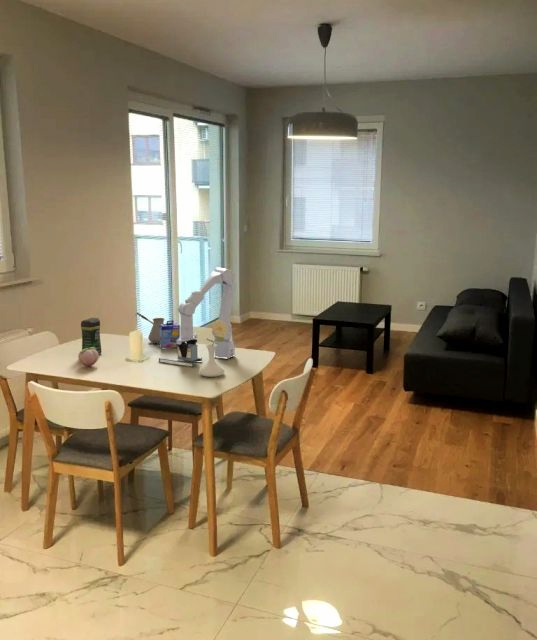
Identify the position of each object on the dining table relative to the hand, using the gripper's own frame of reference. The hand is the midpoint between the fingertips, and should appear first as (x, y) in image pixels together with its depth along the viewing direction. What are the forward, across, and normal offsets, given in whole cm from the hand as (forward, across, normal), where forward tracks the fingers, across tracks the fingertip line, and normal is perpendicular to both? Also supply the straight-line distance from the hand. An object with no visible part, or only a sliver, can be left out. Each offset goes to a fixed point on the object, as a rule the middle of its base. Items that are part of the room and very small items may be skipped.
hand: (187, 355), depth 292 cm
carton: (+2, 0, 0) cm, 2 cm away
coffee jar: (+4, -10, +50) cm, 51 cm away
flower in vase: (+4, -11, -21) cm, 24 cm away
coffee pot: (+4, +27, +41) cm, 49 cm away
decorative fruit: (+4, -27, +37) cm, 46 cm away
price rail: (+4, 0, +3) cm, 5 cm away
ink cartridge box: (+4, +21, +25) cm, 33 cm away
